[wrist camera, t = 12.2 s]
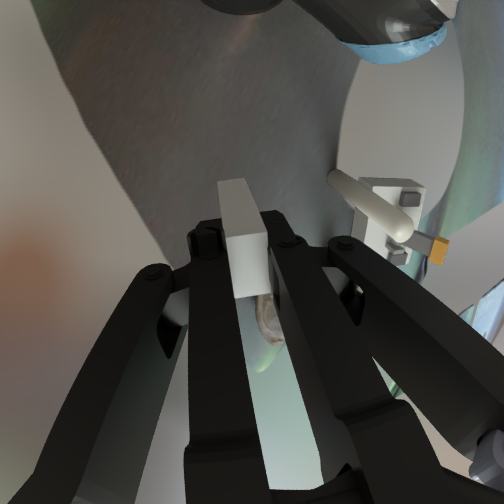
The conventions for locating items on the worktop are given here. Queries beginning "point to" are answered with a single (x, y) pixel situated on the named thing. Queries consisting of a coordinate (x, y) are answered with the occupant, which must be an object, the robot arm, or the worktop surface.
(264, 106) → the worktop surface
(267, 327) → the seashell
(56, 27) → the worktop surface
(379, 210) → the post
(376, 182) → the panel
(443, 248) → the breaker lever
